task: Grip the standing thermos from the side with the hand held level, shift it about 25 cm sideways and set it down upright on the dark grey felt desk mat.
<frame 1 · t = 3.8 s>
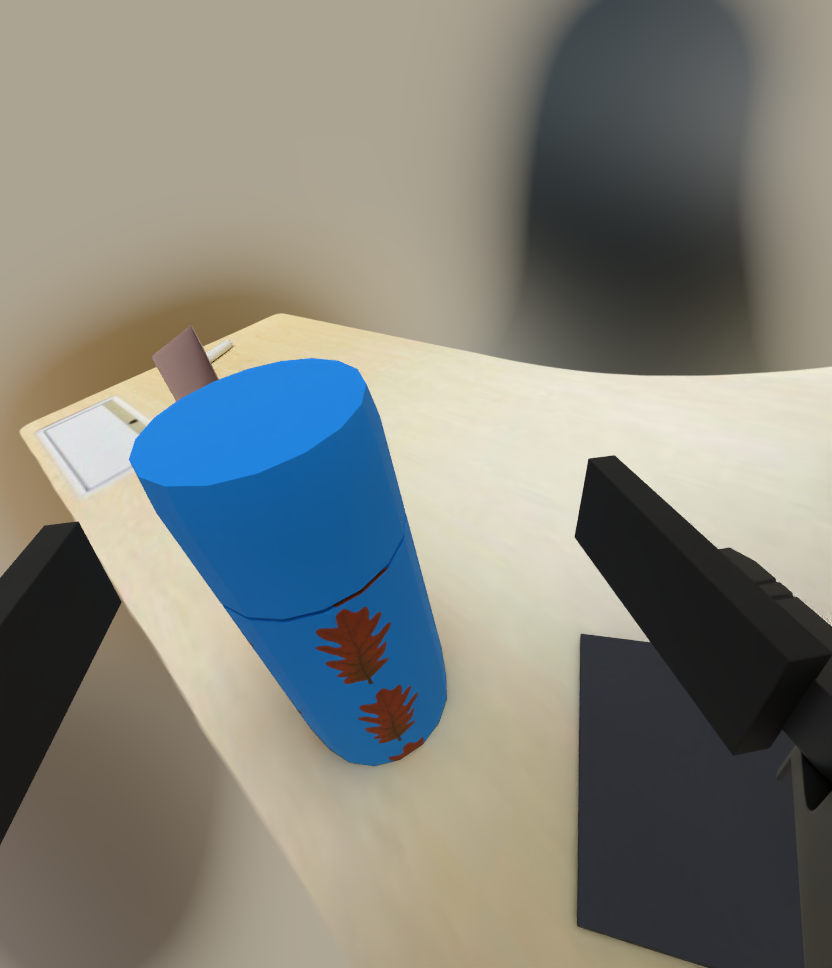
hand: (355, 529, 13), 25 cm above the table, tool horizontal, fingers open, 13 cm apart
greeting card: (234, 426, 76), on the table
marker: (210, 363, 102), on the table
desk mat: (761, 790, 27), on the table
thermos: (380, 692, 36), on the table
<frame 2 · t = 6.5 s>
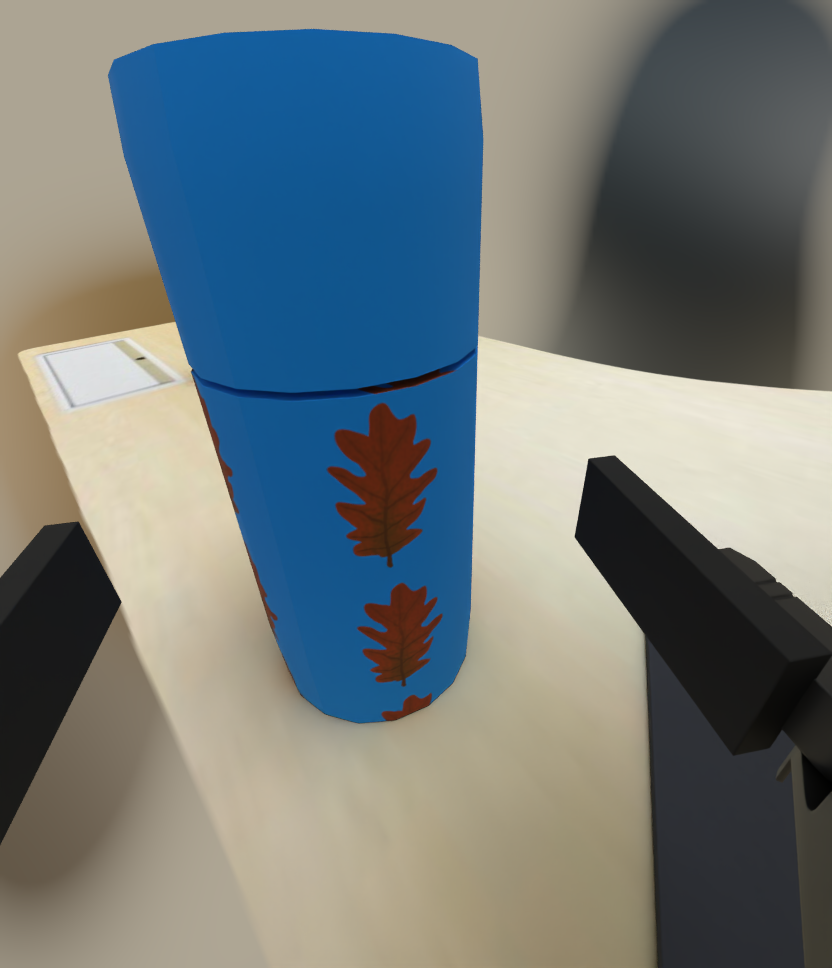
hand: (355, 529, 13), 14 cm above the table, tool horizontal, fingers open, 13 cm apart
thermos: (378, 639, 27), on the table
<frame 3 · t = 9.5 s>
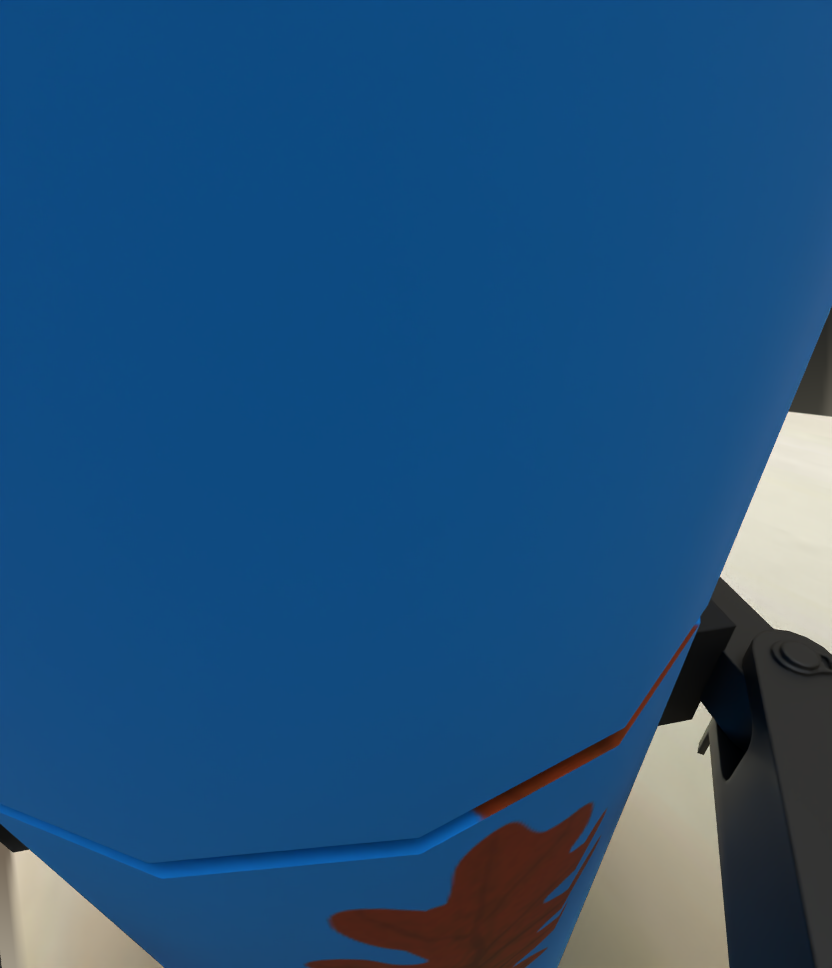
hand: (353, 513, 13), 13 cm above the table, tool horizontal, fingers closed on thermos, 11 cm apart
thermos: (401, 877, 17), on the table, touching gripper
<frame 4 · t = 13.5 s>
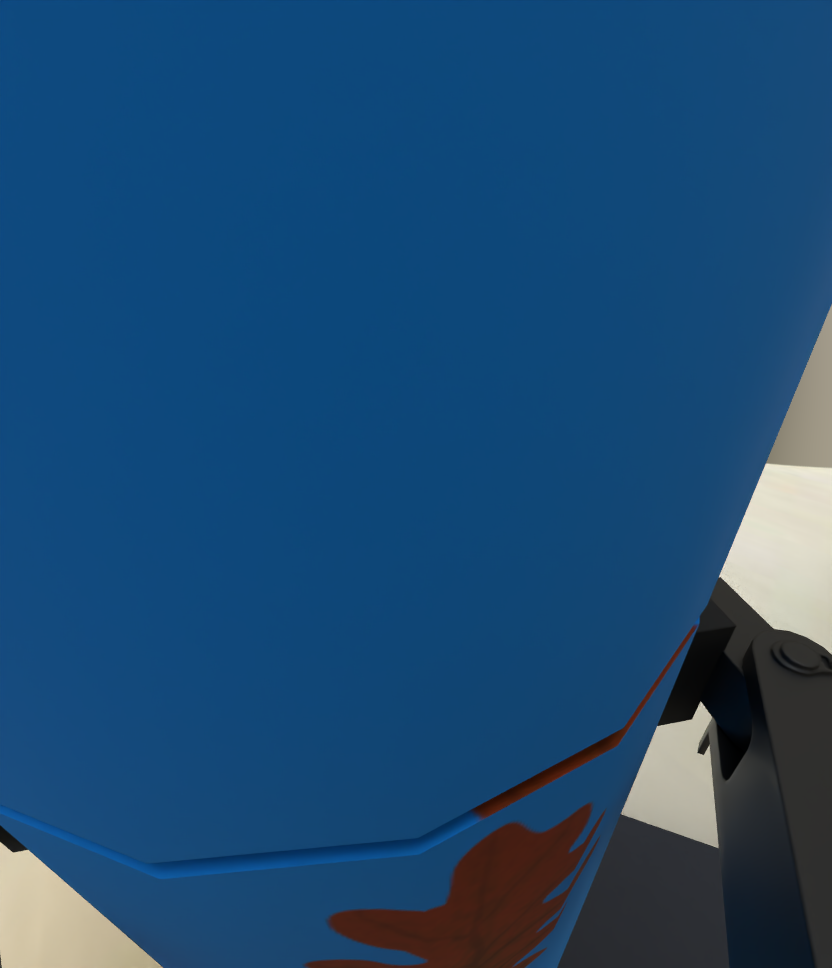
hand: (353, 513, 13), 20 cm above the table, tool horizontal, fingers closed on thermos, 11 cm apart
thermos: (401, 877, 17), point 6 cm above the table, touching gripper
when the fingers open (14 cm above the table, at t = 17.6 s): thermos stays where it is, resting on desk mat.
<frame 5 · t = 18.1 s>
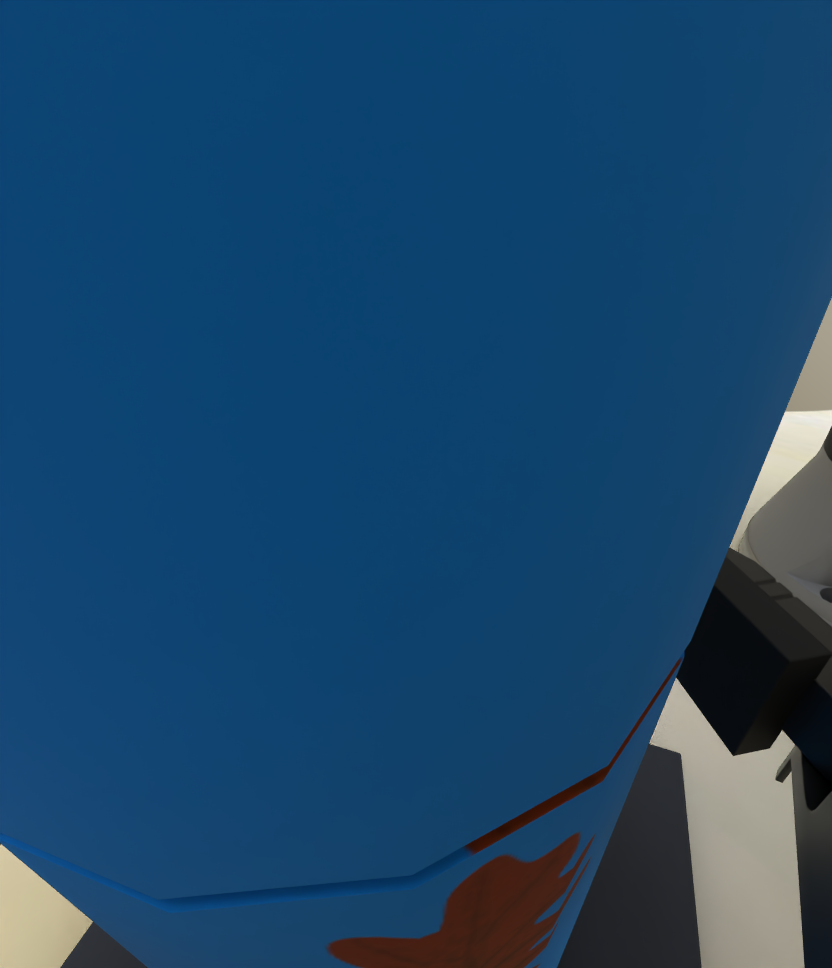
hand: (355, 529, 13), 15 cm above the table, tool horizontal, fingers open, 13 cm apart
desk mat: (402, 888, 18), on the table
thermos: (399, 886, 17), resting on desk mat
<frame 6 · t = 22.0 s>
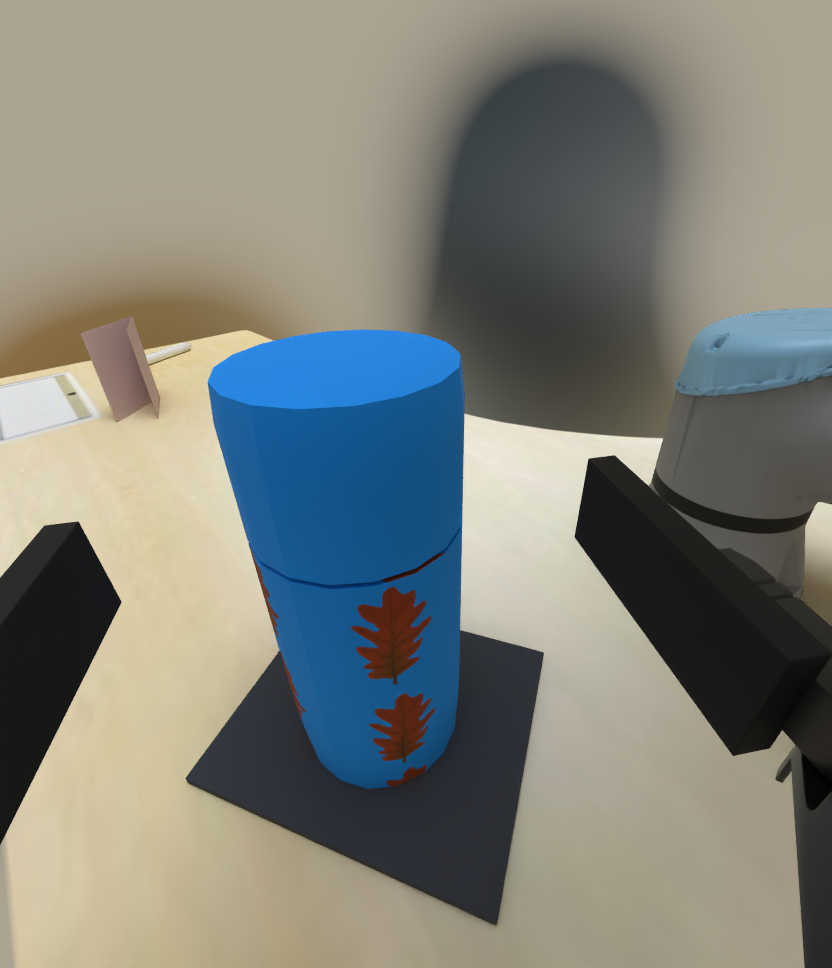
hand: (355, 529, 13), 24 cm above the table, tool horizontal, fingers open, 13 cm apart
greeting card: (153, 410, 85), on the table
marker: (164, 359, 112), on the table
desk mat: (383, 713, 33), on the table
thermos: (382, 710, 33), resting on desk mat
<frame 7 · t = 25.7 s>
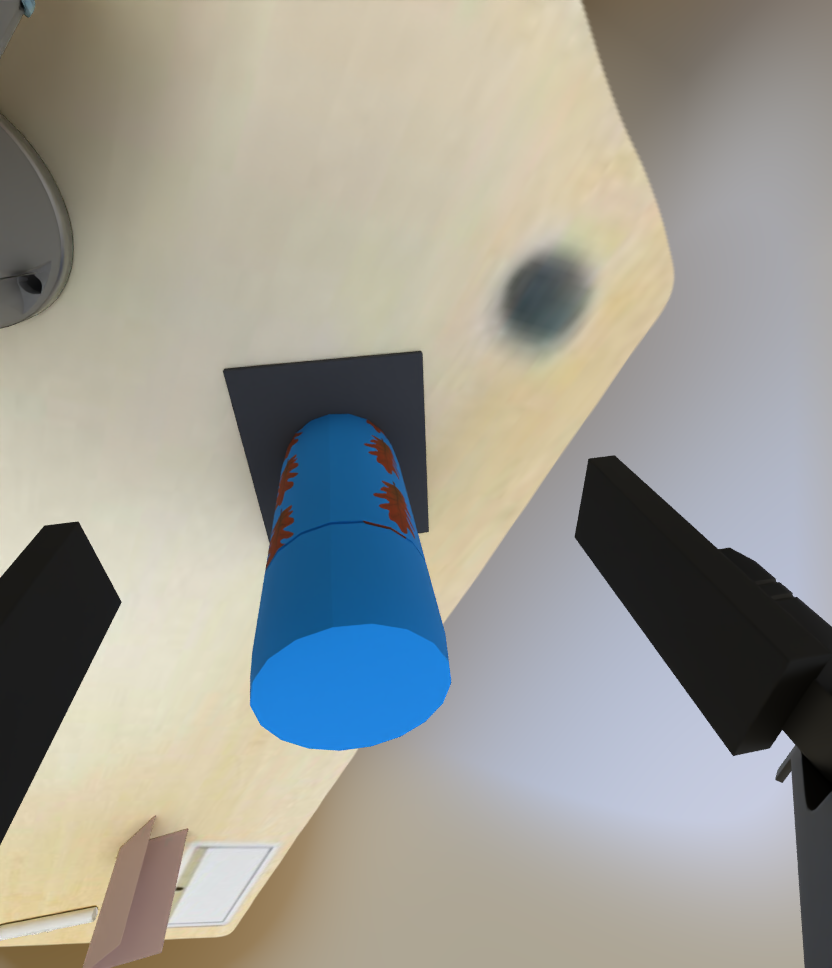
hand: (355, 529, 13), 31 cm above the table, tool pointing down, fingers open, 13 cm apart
greeting card: (145, 829, 75), on the table
marker: (44, 915, 85), on the table
desk mat: (339, 459, 46), on the table
thermos: (340, 462, 46), resting on desk mat
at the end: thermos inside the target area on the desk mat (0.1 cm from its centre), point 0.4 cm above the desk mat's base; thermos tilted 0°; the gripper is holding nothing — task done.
